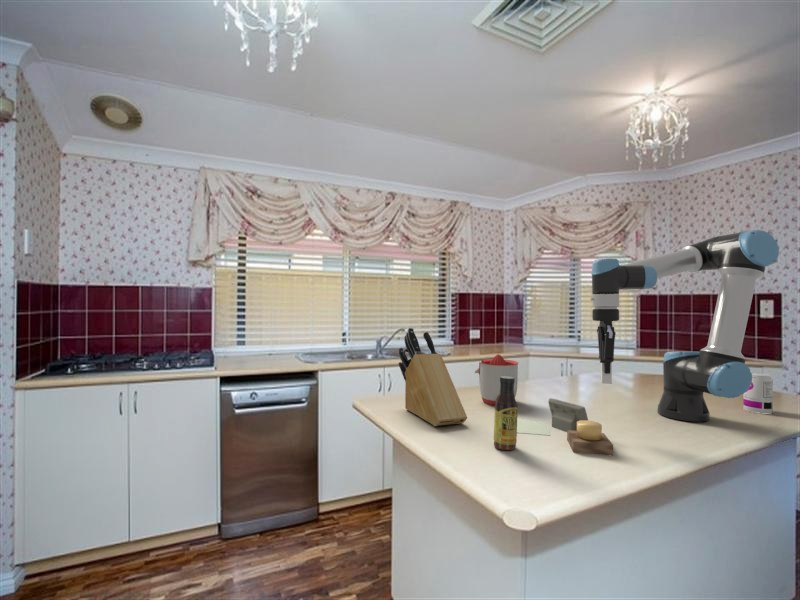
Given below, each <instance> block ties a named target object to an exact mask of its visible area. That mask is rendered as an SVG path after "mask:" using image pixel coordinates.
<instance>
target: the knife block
mask: <svg viewBox="0 0 800 600" xmlns="http://www.w3.org/2000/svg"><path fill="white" fill-rule="evenodd" d="M422 336H423V338H424V340H425V342H426V345H427V348H428V349H429V351H430V353H425V352H422V350H421V347H420V344H419V341H418V338H417V336H416V334H415V332H414V328H413V327H408V329H407V332H406V334H405V336H404V338H403V339H404V345H405V349H404V348H402V347H399V348H398V355H399V359H400V362H398V367H399V368H400V372H401V375H402V377H403V380H404V381H405V388H404V389H405V394H404V395H405V399H404V401H405V403H404V404H405V405H404V407H405V409H406V410H407V411H409V412H411V413H412V414H414V415H417V416H418V417H419V418H421V419H423V420H424V421H426V422H428V423H429V424H431V425H432V426H433V427H439V426H446V425H447V426H449V425H458V424H459V425H460V424H463V423H465V422H466V420H467V419H468V416H467V413H466V412H465V411H466V410H465V409H464V406H463V403H462V402H461V399H460V396H459V394H458V391H457V389H456V387H455V385H454V382H453V380H452V378H451V375H450V373H449V370H448V368H447V366H446V363H445V361H444V359H443V357H442V355H441V353H438V352H436V350H435V349H436V348H435V344H434V342H433V339H432V337H431V335H430V333H429V332H428V331H426V332H424V333H423V335H422ZM406 353H408V355H409V357H410V358H409V359H408V357H407V355H406Z"/></svg>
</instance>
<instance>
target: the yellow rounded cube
mask: <svg viewBox="0 0 800 600" xmlns="http://www.w3.org/2000/svg"><path fill="white" fill-rule="evenodd" d="M602 427H603V425H602V424H601V423H599V422H598V421H593V420H588V421H587V420H581V421H577V436H578V437H580V438H583V440H600V439H602V433H603V431H602V429H603V428H602Z"/></svg>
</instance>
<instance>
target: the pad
mask: <svg viewBox="0 0 800 600" xmlns="http://www.w3.org/2000/svg"><path fill="white" fill-rule="evenodd" d="M517 434H524V435H538V436H548V437H549V436H550V437H551V434H550V431H549V429H548V426H547V423H544V422H540V421H534V420H529V419H524V418H520V417H517Z"/></svg>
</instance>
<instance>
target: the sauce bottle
mask: <svg viewBox="0 0 800 600" xmlns="http://www.w3.org/2000/svg"><path fill="white" fill-rule="evenodd" d="M514 382H515V378H514V377H509V376H501V377H500V394H499V395H498V397H497V399H496V402H495V406H494V407H495V408H494V421H493V422H494V423H493V424H494V425H493V445H494V447H495V448H497V449H498V450H502V451H513V450H515V449H516V447H517V441H518V440H517V437H518V435H517V434H518V433H517V418H518V404H517V401H516V396H515V397H514Z"/></svg>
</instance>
